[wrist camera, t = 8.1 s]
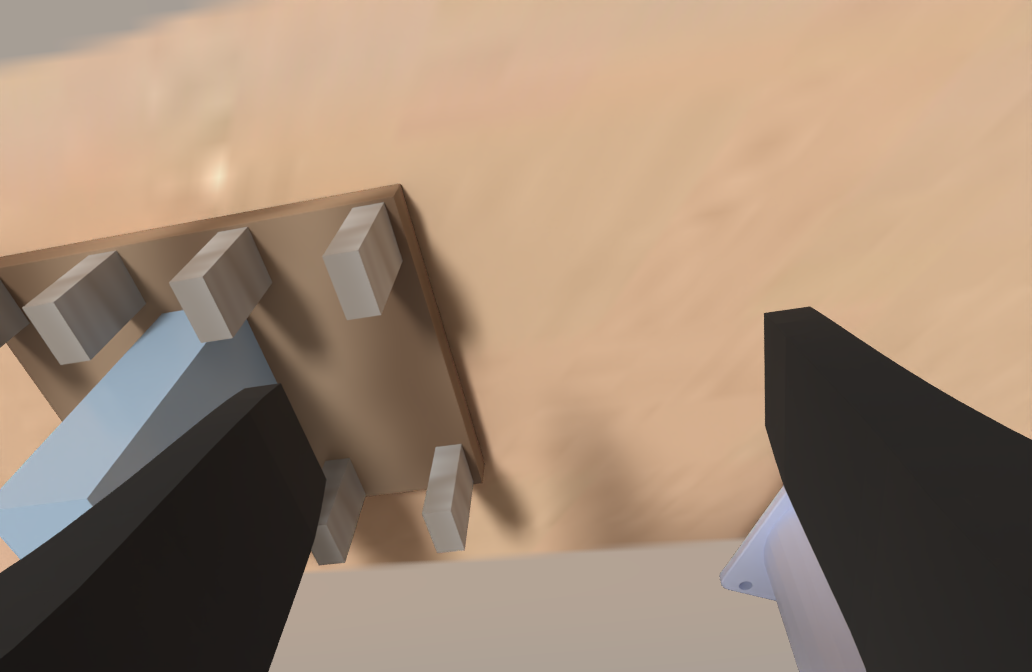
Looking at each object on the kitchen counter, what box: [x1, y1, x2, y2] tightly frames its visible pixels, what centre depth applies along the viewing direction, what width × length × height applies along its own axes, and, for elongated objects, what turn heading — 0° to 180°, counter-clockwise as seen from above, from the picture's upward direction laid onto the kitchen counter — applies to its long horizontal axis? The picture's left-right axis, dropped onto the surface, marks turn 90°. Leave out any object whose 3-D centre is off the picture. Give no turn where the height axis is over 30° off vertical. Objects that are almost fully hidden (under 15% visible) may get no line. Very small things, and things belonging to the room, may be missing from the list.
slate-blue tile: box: [0, 310, 277, 560], centre depth 19 cm, size 2×6×8 cm, turn 11°
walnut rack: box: [0, 184, 485, 565], centre depth 22 cm, size 14×11×4 cm
